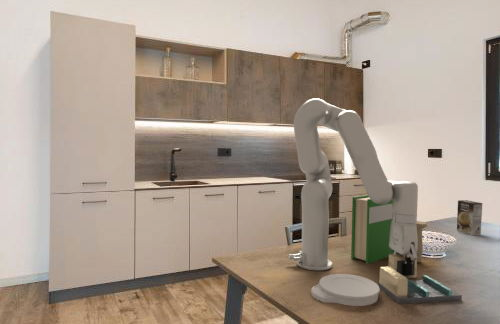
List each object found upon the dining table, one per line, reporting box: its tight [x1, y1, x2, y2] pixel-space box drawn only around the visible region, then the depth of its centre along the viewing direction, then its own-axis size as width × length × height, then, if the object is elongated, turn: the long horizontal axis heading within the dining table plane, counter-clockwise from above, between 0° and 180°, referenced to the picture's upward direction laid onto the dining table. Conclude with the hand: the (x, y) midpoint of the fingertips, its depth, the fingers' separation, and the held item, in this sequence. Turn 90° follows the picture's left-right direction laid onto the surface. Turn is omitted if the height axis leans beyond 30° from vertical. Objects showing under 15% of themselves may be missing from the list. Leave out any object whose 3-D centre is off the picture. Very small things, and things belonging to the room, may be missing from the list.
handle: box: [416, 220, 428, 263], centre depth 133 cm, size 5×6×15 cm
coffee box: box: [456, 199, 483, 236], centre depth 178 cm, size 9×6×16 cm
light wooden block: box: [387, 253, 418, 279], centre depth 117 cm, size 8×4×7 cm, turn 98°
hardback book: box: [350, 194, 394, 265], centre depth 138 cm, size 18×7×24 cm, turn 128°
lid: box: [310, 273, 381, 307], centre depth 103 cm, size 17×20×3 cm
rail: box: [377, 266, 463, 305], centre depth 104 cm, size 19×12×6 cm, turn 98°
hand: (402, 272), depth 117 cm, fingers closed on light wooden block, 3 cm apart
